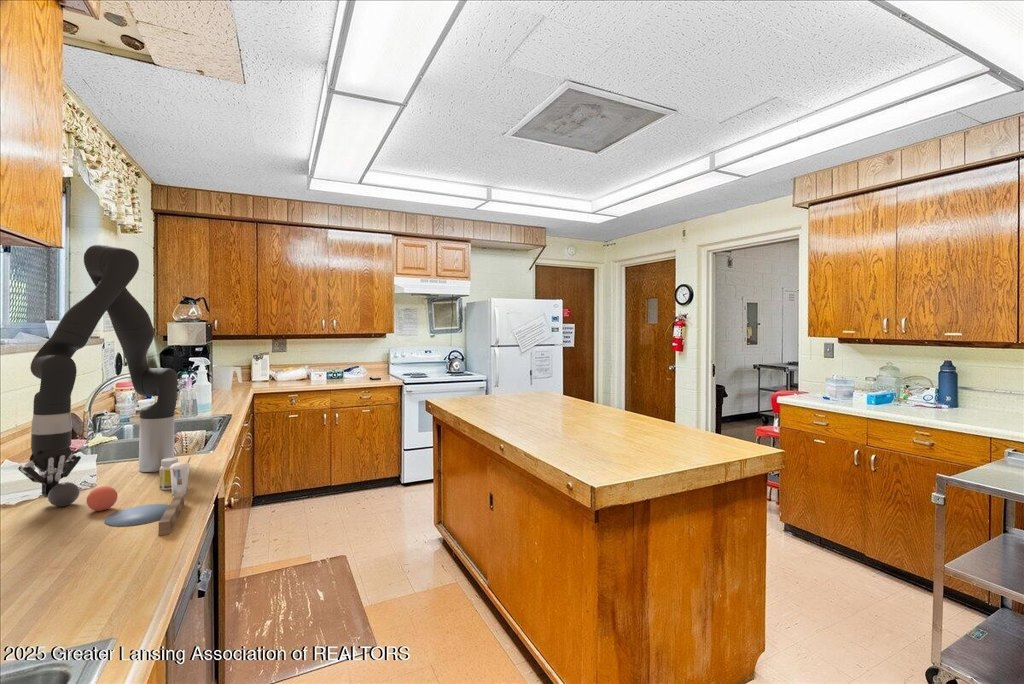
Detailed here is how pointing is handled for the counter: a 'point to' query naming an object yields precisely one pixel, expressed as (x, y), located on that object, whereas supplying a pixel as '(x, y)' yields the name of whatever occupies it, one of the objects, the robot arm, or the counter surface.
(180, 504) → the stopper rail
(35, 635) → the counter surface
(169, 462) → the supplement bottle
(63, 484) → the dark gray ball
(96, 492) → the red ball
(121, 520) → the blue-grey flat disc
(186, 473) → the milkshake
